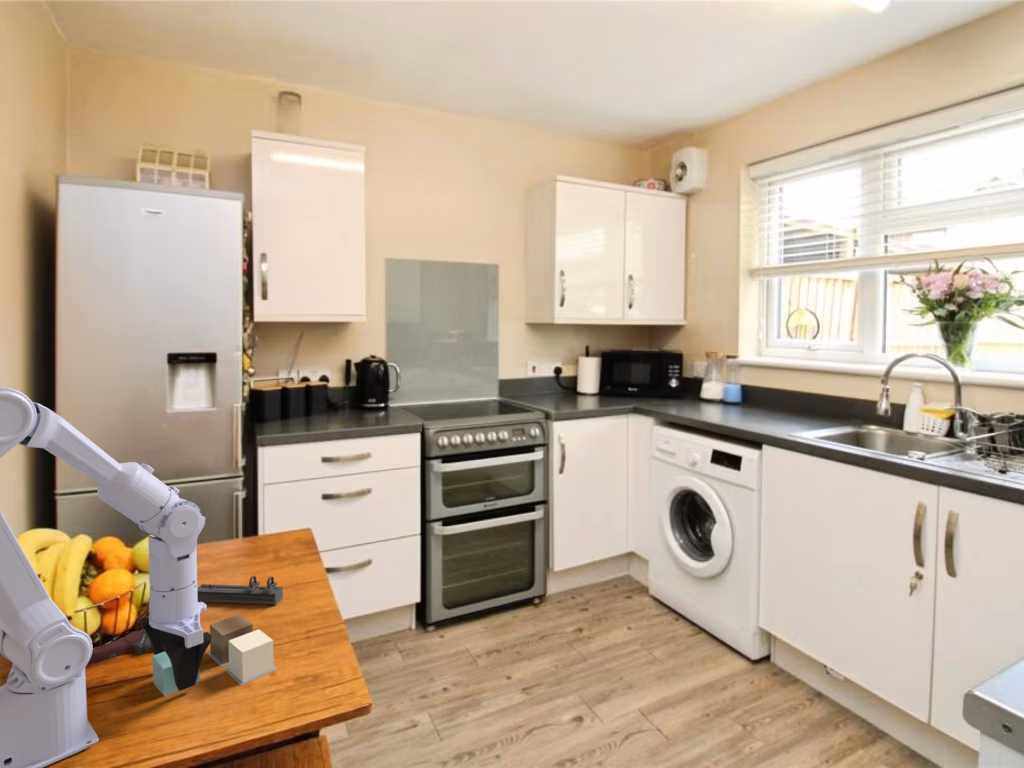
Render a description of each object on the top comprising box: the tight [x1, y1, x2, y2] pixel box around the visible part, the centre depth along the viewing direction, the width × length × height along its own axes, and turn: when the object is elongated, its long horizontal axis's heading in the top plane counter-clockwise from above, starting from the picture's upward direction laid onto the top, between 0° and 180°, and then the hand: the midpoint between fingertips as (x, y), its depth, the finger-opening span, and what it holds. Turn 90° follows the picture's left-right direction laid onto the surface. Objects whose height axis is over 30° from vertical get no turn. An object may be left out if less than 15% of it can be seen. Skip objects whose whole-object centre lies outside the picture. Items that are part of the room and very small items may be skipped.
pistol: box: [87, 628, 153, 665], centre depth 94 cm, size 2×15×12 cm
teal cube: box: [151, 652, 201, 697], centre depth 82 cm, size 4×4×4 cm
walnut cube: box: [209, 614, 254, 664], centre depth 89 cm, size 4×4×4 cm
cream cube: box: [228, 628, 275, 683], centre depth 85 cm, size 4×4×4 cm
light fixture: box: [197, 575, 284, 607], centre depth 106 cm, size 3×15×6 cm, turn 89°
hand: (176, 675), depth 82 cm, fingers open, 7 cm apart
